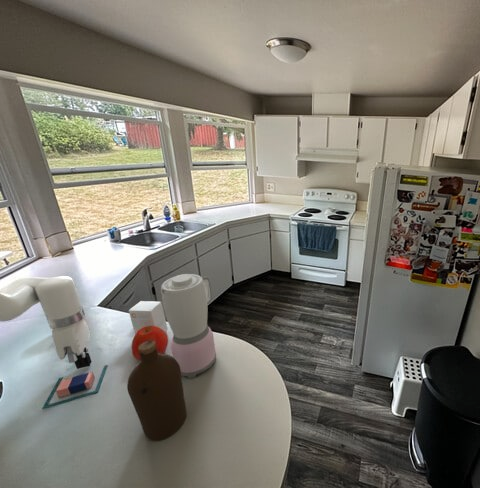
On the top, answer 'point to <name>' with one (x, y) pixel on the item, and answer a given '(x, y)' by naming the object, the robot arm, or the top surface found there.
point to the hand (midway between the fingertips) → (84, 365)
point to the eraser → (75, 384)
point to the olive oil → (157, 393)
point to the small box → (147, 315)
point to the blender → (189, 322)
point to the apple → (149, 339)
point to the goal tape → (72, 397)
